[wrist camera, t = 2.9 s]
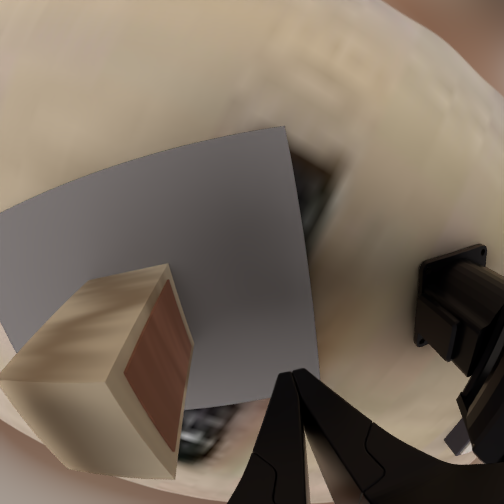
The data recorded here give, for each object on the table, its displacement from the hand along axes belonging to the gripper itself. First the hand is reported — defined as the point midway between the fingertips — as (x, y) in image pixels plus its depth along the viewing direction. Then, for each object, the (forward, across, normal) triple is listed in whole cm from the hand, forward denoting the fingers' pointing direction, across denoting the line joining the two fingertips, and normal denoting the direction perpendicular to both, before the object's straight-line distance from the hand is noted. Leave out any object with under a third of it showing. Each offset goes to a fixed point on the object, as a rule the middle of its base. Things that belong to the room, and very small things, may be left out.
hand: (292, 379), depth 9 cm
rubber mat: (+8, +9, 0) cm, 11 cm away
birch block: (+7, +7, 0) cm, 10 cm away
